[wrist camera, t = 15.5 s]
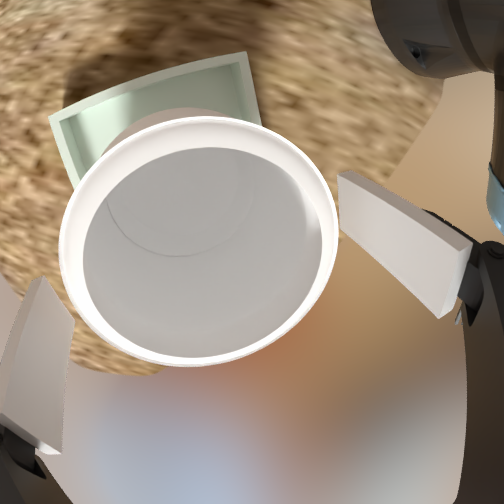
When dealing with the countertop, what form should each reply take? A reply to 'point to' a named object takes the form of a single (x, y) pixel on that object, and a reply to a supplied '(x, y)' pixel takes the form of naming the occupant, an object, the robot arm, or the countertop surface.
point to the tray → (152, 106)
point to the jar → (197, 239)
